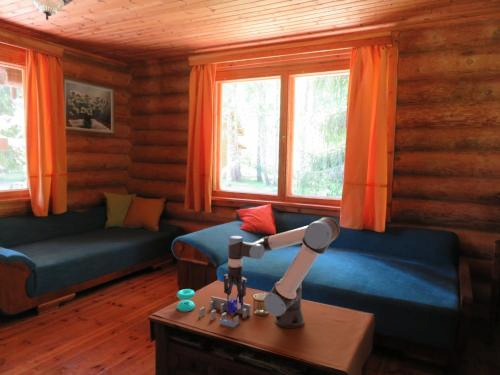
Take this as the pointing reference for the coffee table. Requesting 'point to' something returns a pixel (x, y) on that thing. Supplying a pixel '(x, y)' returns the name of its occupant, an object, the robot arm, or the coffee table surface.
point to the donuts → (186, 304)
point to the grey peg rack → (222, 305)
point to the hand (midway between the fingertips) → (234, 307)
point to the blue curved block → (233, 305)
